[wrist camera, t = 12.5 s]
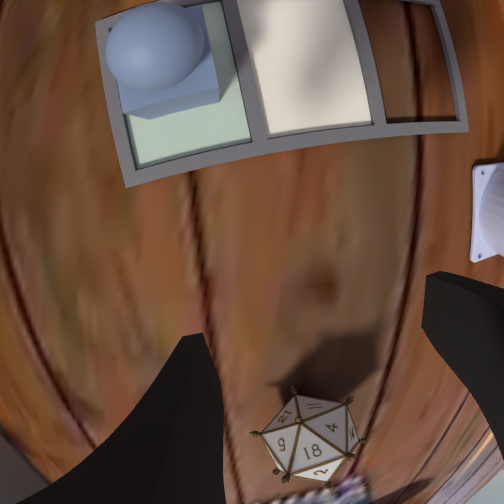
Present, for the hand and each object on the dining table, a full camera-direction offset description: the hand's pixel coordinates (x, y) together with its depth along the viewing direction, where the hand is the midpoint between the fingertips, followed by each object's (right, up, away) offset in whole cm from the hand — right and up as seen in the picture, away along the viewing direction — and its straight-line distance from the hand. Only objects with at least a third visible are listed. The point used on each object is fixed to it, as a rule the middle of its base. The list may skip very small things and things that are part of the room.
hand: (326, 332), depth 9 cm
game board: (+1, +14, +6) cm, 15 cm away
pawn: (-6, +12, +6) cm, 15 cm away
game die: (+2, -11, +16) cm, 19 cm away
